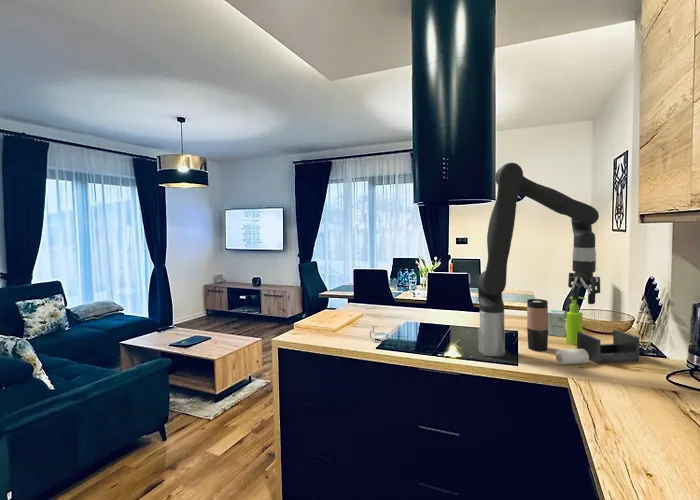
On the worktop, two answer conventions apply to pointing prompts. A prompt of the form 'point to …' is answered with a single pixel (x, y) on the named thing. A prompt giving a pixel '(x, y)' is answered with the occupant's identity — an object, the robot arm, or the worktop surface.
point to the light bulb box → (556, 323)
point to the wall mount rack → (382, 334)
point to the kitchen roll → (572, 356)
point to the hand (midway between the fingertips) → (583, 301)
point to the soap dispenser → (573, 322)
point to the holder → (610, 348)
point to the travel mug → (537, 324)
